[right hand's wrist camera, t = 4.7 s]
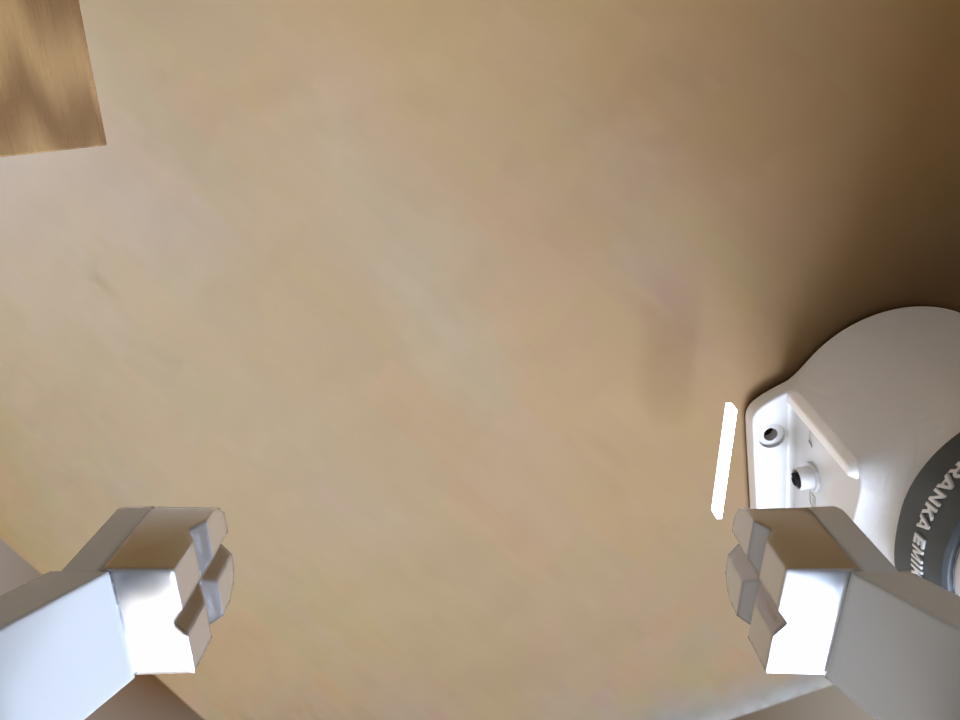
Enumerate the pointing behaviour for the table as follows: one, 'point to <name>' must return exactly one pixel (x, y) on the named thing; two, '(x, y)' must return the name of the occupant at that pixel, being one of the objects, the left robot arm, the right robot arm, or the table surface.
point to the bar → (46, 79)
